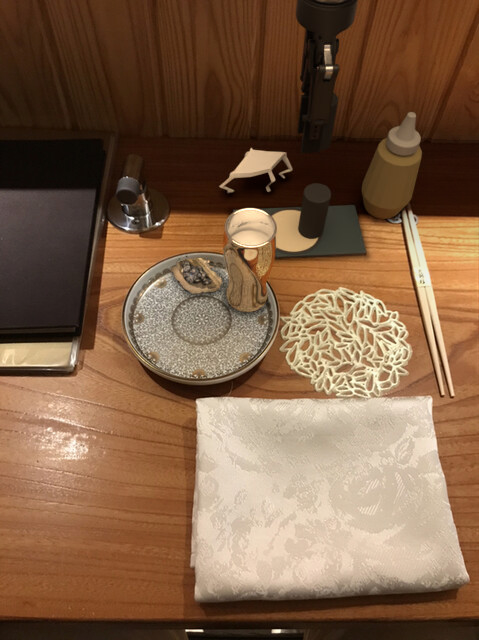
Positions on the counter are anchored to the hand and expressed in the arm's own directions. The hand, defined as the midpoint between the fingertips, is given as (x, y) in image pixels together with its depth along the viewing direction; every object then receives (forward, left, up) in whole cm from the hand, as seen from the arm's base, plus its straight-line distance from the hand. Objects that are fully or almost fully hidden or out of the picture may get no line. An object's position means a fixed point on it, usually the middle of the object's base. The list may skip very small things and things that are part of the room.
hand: (307, 141), depth 89 cm
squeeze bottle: (-12, +7, -8) cm, 16 cm away
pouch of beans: (+18, +19, -8) cm, 28 cm away
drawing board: (+2, +12, -8) cm, 14 cm away
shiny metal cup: (+11, +23, -8) cm, 27 cm away
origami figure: (+9, +1, -8) cm, 12 cm away
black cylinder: (0, +12, -8) cm, 14 cm away
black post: (-2, 0, 0) cm, 2 cm away
